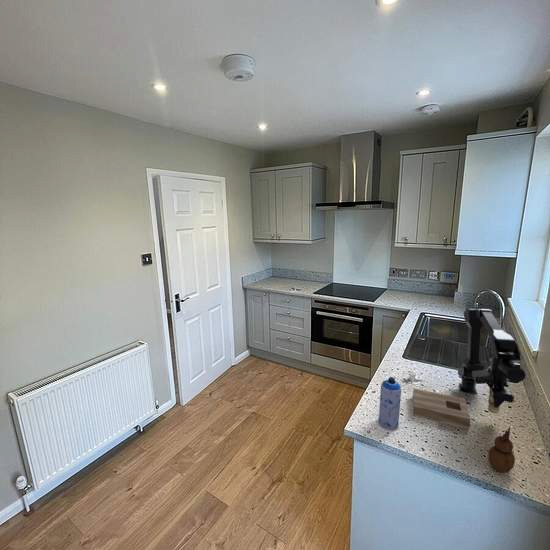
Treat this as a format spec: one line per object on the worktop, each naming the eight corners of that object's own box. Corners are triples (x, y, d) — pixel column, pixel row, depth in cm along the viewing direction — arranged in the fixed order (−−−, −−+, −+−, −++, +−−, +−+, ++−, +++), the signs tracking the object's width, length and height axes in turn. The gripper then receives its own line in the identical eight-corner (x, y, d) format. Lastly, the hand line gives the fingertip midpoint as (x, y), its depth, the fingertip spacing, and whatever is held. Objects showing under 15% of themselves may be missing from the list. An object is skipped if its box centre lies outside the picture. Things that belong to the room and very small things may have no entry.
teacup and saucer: (422, 378, 151) (423, 371, 150) (422, 386, 144) (422, 379, 143) (403, 374, 155) (404, 367, 154) (402, 382, 148) (403, 374, 147)
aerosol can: (400, 431, 114) (405, 385, 110) (379, 429, 116) (383, 383, 112) (396, 417, 122) (399, 373, 118) (376, 416, 123) (379, 372, 119)
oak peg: (485, 406, 121) (488, 386, 119) (498, 409, 119) (501, 389, 117) (488, 412, 117) (491, 392, 115) (500, 415, 116) (504, 394, 114)
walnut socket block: (412, 396, 136) (413, 388, 135) (463, 408, 127) (464, 398, 127) (412, 415, 123) (413, 406, 122) (469, 429, 115) (470, 419, 114)
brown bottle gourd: (502, 460, 100) (509, 422, 97) (516, 475, 95) (524, 435, 92) (482, 461, 100) (489, 423, 97) (496, 476, 94) (502, 436, 91)
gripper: (471, 354, 126) (466, 386, 129) (480, 375, 109) (474, 412, 113) (502, 359, 121) (497, 392, 125) (517, 382, 105) (510, 420, 108)
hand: (494, 403), depth 118 cm, fingers closed on oak peg, 4 cm apart
